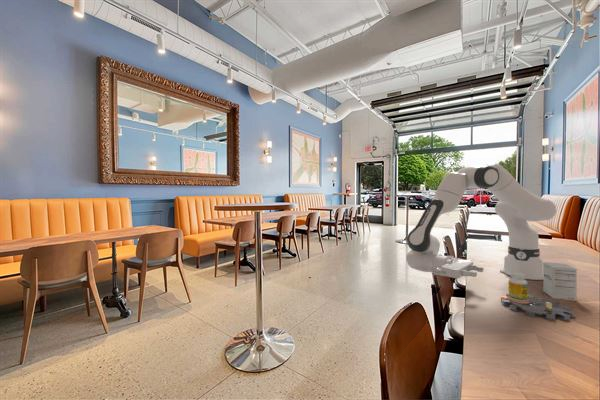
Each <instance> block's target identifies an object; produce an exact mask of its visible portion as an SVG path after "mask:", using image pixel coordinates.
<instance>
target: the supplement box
mask: <svg viewBox="0 0 600 400" xmlns="http://www.w3.org/2000/svg"><path fill="white" fill-rule="evenodd" d="M577 271H578V270H577V268H576V267H574V266H571V265H568V264H567V263H561V262H560V263H559V262H544V261H543V285H542V286H543V293H545V294H546V295H548V296H549V297H550V298H552V299H557V300H566V301H573V302H574V301H576V302H577V297H578V296H577V293H578V292H577V291H578V290H577V286H578V285H577V281H578V280H577Z"/></svg>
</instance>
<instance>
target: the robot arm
mask: <svg viewBox="0 0 600 400" xmlns="http://www.w3.org/2000/svg"><path fill="white" fill-rule="evenodd" d="M467 189H469V190H470V189H471V190H476V189H482V190H483V189H488V190H489V192H490V193H491V194H492V195H493V196H494V197H495V198H496V200H497V202H496V204H495V206H494V211H495V213H496V215H497V216H499V217H500V218H501V219H502V221H503V222H504V224H505V226H506V228H507V231H508V232H507V233H508V246H507V253H508V254H507V255H505V256H504V261H503V268H500V270H499V272H500V273H503V274H506V275H507V276H510V277H511V273H512V272H517V273H522V274H525V279H524V280H537V281H539V280H541V281H542V280H543V262H544V261H543V260H542V259H541V258H540V257H541V251H540V248H539V233H538V232H537V230H535V229H534V228H532V227H531V226H530V224H529V223H528V222H529V221H531V222H543V221H544V222H545V221H550V220H552V219H554V217H555V216H556V214H557V206H556V205H555V203H554V202H553V201H551V200H550V199H546V198H544V197H541V196H538V195H537V194H535V193H533V192H531V191H529V190H527V189H526V188H525V187H523V186H522V185H521V184H520V182H518V181H517V180H516V179H515V177H514V176H513V175H512V174H511V173H510V172H509V171H508V170H507V169H506V168H504V167H503V166H502V165H501V164H499V163H495V162H491V163H488V164H484V165H471V166H470V165H469V166H465V167H464V166H463V167H459V168H457V169H455V170H453V171H451V172H448V173H446V174H445V176H444V177H443V178H442V180H441V182H440V183H439V185H438V187H437V189H436V191H435V194H434V196H433V197H432V199H431V201H430V202H429V203H428V205H426V208H425V210H424V211H423V213H422V215H421V216H420V219H419V220H418V222H417V224H416V225H415V227H414V228H413V229H412V230H411V231H410V232H409V233H408V234H407V238H406V243H407V246H408V247H409V249H410V251H408V252H407V253H406V256H405V257H406V259H405V260H406V263H407V265H408V266H409V268H411V269H413V270H416V271H419V272H423V273H432V274H433V275H438V276H442V277H447V278H453V279H460V278H462V277H473V278H476V277H477V276H478V273H483V272H484V267H482V266H478V265H475V264H474V261H472V260H469V259H465V258H464V259H463V258H458V257H454V256H453V255H441V254H439V250H440V241H439V239H438V238H437V237H435V236H434V235H432V234H431V233H432V230H433V228H434V226H435V224H436V223H437V220H438V219H439V217H440V216H442V215H444V214H447V213H448V214H449V213H451V212H454V211H455V210H456V209H457V208H458V206H459V205H460V203H461V200H462V198H463V196H464V193H465V190H467ZM477 272H478V273H477Z"/></svg>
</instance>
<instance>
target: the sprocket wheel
mask: <svg viewBox="0 0 600 400" xmlns="http://www.w3.org/2000/svg"><path fill="white" fill-rule="evenodd" d="M500 302H501V304H502V305H503V306H504V307H509V310H510V311H514V312H516V313H518V312H522V313H525V315H526V316H528V317H532V318H536V317H542V318H544V319H545V320H546V321H547V320H548V321H554V322H555V321H556V319H559V320H562V321H570V319H574V311H572V309H571V307H569V306H568V305H564V304H560V302H559V301H556V300H552V299H549V300H546V299H543V297H541V296H537V295H534V296H528V295H527V301H526V302H519V301H515V300H512V299H510V298H509V293H506V294H505V295H501V296H500Z"/></svg>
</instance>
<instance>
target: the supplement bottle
mask: <svg viewBox="0 0 600 400" xmlns="http://www.w3.org/2000/svg"><path fill="white" fill-rule="evenodd" d="M528 285H529V284H528V281H527V279H525V274H522V273H517V272H512V273H511V276H510V278H509V279H508V294H509V298H510V299H512V300H515V301H519V302H526V301H527V296H528Z"/></svg>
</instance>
